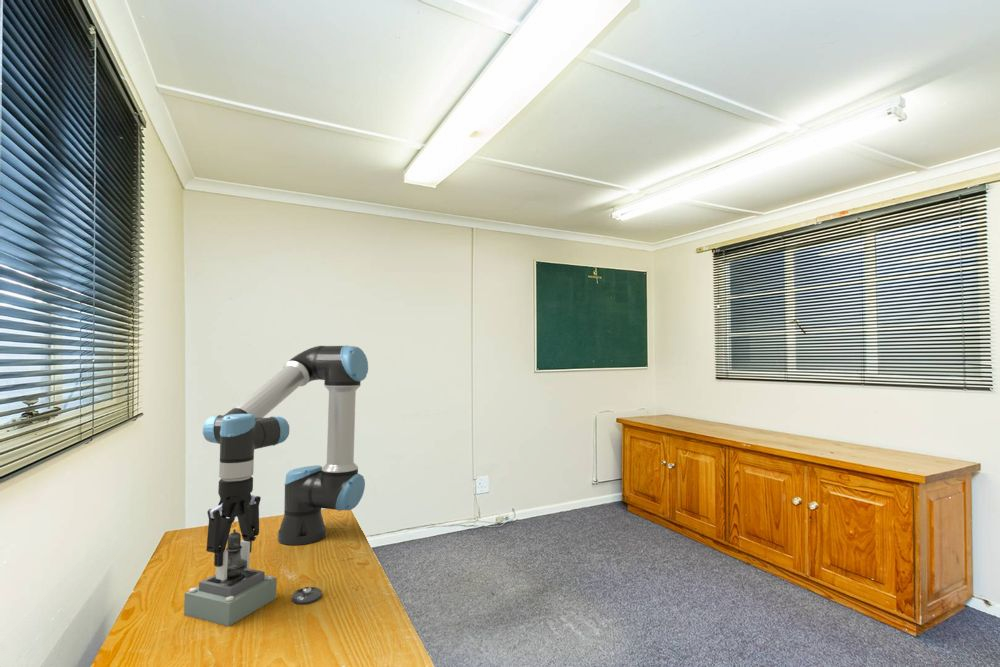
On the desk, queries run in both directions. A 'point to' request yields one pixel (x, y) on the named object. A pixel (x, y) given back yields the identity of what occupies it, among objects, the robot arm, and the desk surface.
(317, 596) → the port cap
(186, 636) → the desk surface
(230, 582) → the dark metal chess piece
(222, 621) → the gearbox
